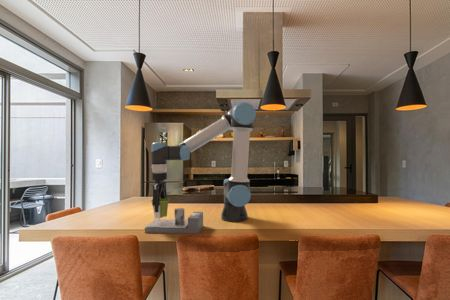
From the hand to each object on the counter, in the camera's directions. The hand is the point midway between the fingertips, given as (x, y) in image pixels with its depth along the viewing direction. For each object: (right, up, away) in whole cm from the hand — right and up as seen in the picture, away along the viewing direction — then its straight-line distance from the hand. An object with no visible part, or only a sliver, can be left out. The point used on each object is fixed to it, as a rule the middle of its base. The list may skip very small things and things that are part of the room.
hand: (160, 216), depth 161 cm
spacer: (+10, -3, -1) cm, 11 cm away
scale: (+8, -7, -1) cm, 10 cm away
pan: (+5, -4, 0) cm, 7 cm away
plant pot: (0, 0, 0) cm, 1 cm away
